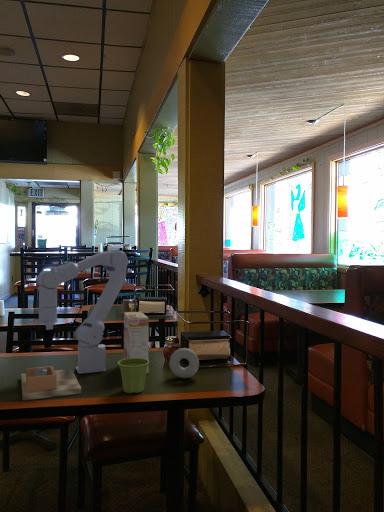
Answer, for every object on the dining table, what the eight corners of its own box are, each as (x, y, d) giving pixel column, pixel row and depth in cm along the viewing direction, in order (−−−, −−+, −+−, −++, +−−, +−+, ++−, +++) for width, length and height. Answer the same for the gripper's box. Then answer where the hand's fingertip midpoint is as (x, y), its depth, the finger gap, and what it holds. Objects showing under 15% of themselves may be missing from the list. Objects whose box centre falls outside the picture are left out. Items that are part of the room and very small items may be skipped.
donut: (199, 377, 139) (199, 347, 139) (198, 380, 136) (198, 349, 136) (170, 376, 140) (170, 346, 140) (168, 379, 137) (168, 348, 137)
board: (71, 373, 142) (71, 368, 142) (81, 393, 122) (81, 387, 122) (21, 378, 136) (21, 373, 136) (22, 400, 116) (22, 394, 116)
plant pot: (135, 397, 119) (135, 367, 119) (111, 391, 124) (111, 362, 124) (155, 388, 127) (155, 360, 127) (131, 383, 132) (131, 356, 132)
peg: (47, 386, 127) (47, 367, 127) (48, 390, 123) (47, 370, 123) (35, 388, 125) (34, 368, 125) (35, 392, 122) (34, 372, 122)
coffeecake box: (123, 364, 155) (123, 312, 155) (141, 362, 157) (142, 311, 157) (128, 375, 141) (128, 318, 141) (148, 373, 143) (149, 317, 143)
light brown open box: (53, 378, 131) (53, 365, 131) (56, 388, 121) (56, 375, 121) (26, 381, 128) (26, 368, 128) (27, 392, 118) (27, 378, 118)
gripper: (34, 304, 142) (33, 344, 142) (36, 310, 129) (35, 353, 129) (55, 304, 145) (55, 342, 145) (59, 309, 132) (59, 351, 132)
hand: (47, 347), depth 137 cm, fingers closed
